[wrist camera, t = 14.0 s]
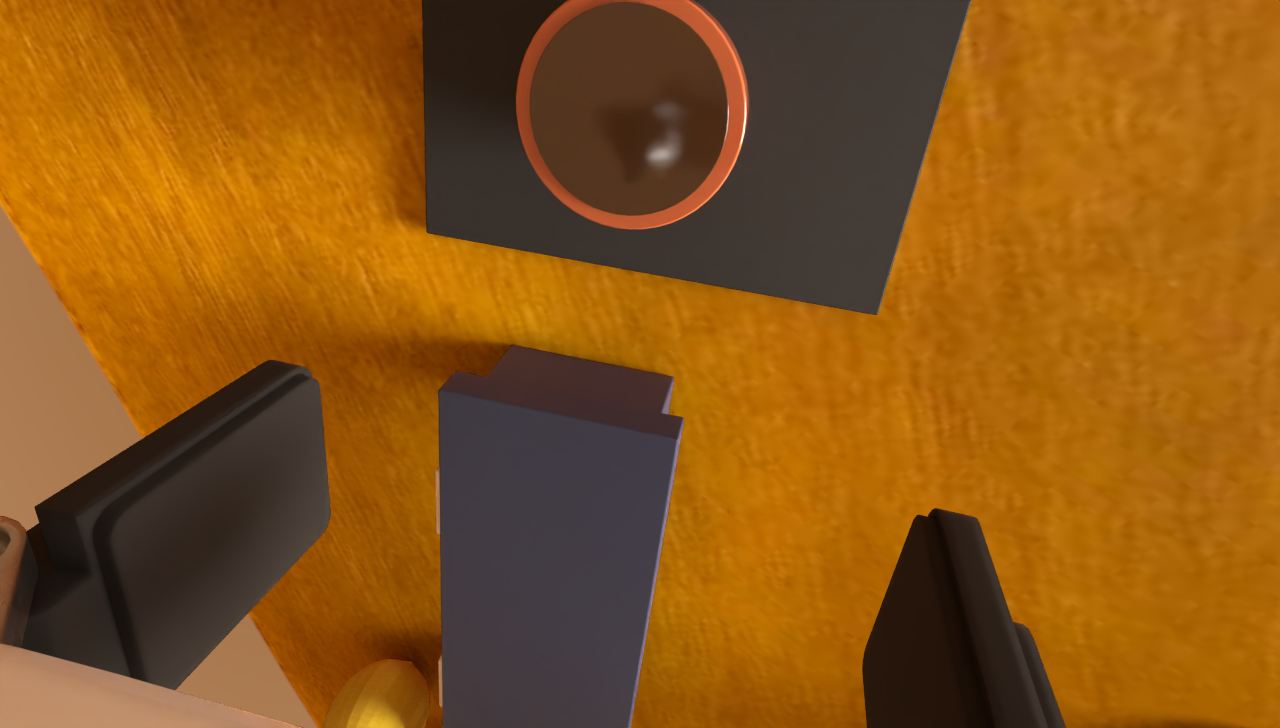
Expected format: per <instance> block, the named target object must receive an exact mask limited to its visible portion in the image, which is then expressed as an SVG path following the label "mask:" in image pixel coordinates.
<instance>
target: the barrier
mask: <svg viewBox="0 0 1280 728" xmlns="http://www.w3.org/2000/svg"><path fill="white" fill-rule="evenodd" d="M673 382H674V378H673V377H671V376H666V375H661V374H656V373H650V372H645V371H640V370H635V369H630V368H625V367H620V366H615V365H610V364H605V363H600V362H595V361H590V360H585V359H580V358H575V357H570V356H565V355H560V354H555V353H550V352H545V351H540V350H535V349H530V348H525V347H520V346H515V345H512V346H511V347H510V348H509V349H508V350H507V352H506V353H505V354H504V355H503V356H502V358H501V359H500V360H499V361H498V362H497V364H496V365H495V366H494V367H493V368H492V370H491V371H490V372H489V373H488V374H487V376H486V377H484V376H479V375H474V374H469V373H464V372H460V371H456V372H455V373H454V374H453V375H452V376H451V377H450V378H449V379H448V380H447V381H446V382H445V383H444V384H443V386H442V387H441V388H440V389H439V391H438V397H439V467H438V468H437V469H436V531H437V534H439V535H440V551H441V628H442V655H441V657H440V659H439V706H440V707H443V728H631V722H632V717H633V711H634V705H635V699H636V694H637V688H638V682H639V676H640V671H641V665H642V659H643V653H644V648H645V642H646V636H647V630H648V625H649V619H650V613H651V607H652V602H653V596H654V590H655V584H656V579H657V573H658V567H659V561H660V556H661V550H662V544H663V538H664V533H665V527H666V521H667V515H668V510H669V504H670V498H671V493H672V487H673V481H674V475H675V470H676V464H677V458H678V452H679V447H680V441H681V435H682V429H683V424H684V418H683V417H679V416H674V415H669V414H668V413H669V407H670V401H671V395H672V388H673Z"/></svg>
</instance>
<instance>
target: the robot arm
mask: <svg viewBox="0 0 1280 728" xmlns="http://www.w3.org/2000/svg"><path fill="white" fill-rule="evenodd" d="M35 510H36V513H37V517H38V520H39V524H37V525H35V526H34V527H33V528H31V529H29V530H28V531H26V529H25V528H24V527H23V526H22V525H21V524H20V523H19V522H18V521H16V520H13V519H10V518H8V517H5V516H0V728H303V727H299V726H296V725H292V724H289V723H285V722H282V721H279V720H275V719H271V718H268V717H265V716H261V715H258V714H254V713H251V712H247V711H244V710H241V709H237V708H234V707H230V706H227V705H223V704H220V703H216V702H213V701H209V700H206V699H202V698H199V697H195V696H192V695H188V694H185V693H182V692H178V691H175V690H176V689H177V688H178V687H179V686H180V684H181V683H182V682H183V681H184V680H185V679H186V678H187V677H188V676H189V675H190V674H191V673H192V672H193V671H194V669H196V668H197V667H198V665H199V664H200V663H201V662H202V661H203V660H204V659H205V658H206V657H207V656H208V655H209V654H210V653H211V652H212V651H213V650H214V649H215V647H216V646H217V645H218V644H219V643H220V642H221V641H222V640H223V639H224V638H225V637H226V636H227V635H228V634H229V633H230V631H232V629H233V628H234V627H235V626H236V625H237V624H238V623H239V622H240V621H241V620H242V619H243V618H244V617H245V616H246V615H247V614H248V613H249V611H250V610H251V609H252V608H253V607H254V606H255V605H256V604H257V603H258V602H259V601H260V600H261V599H262V598H263V597H264V596H265V594H266V593H267V592H268V591H269V590H270V589H271V588H272V587H273V586H274V585H275V584H276V583H277V582H278V581H279V580H280V579H281V578H282V576H283V575H284V574H285V573H286V572H287V571H288V570H289V569H290V568H291V567H292V566H293V565H294V564H295V563H296V562H297V561H298V560H299V558H300V557H301V556H302V555H303V554H304V553H305V552H306V551H307V550H308V549H309V548H310V547H311V546H312V545H313V544H314V543H315V542H316V540H317V539H318V538H319V537H320V536H321V535H322V534H323V533H324V531H325V529H326V528H327V526H328V523H329V520H330V515H331V509H330V497H329V486H328V474H327V462H326V451H325V439H324V428H323V416H322V404H321V393H320V386H319V383H318V381H317V380H316V379H314V378H312V374H311V372H310V371H309V369H307V368H306V367H303V366H298V365H294V364H289V363H285V362H280V361H276V360H268V361H266V362H263V363H262V364H260V365H259V366H257V367H256V368H254V369H252V370H251V371H249V372H248V373H246V374H244V375H243V376H241V377H240V378H238V379H237V380H235V381H233V382H232V383H230V384H229V385H227V386H225V387H224V388H222V389H221V390H219V391H218V392H216V393H214V394H213V395H211V396H210V397H208V398H206V399H205V400H203V401H202V402H200V403H198V404H197V405H195V406H194V407H192V408H191V409H189V410H187V411H186V412H184V413H183V414H181V415H179V416H178V417H176V418H175V419H173V420H172V421H170V422H168V423H167V424H165V425H164V426H162V427H160V428H159V429H157V430H156V431H154V432H153V433H151V434H149V435H148V436H146V437H145V438H143V439H141V440H140V441H138V442H137V443H135V444H133V445H132V446H130V447H129V448H127V449H126V450H124V451H122V452H121V453H119V454H118V455H116V456H115V457H113V458H111V459H110V460H108V461H107V462H105V463H103V464H102V465H100V466H99V467H97V468H96V469H94V470H92V471H91V472H89V473H88V474H86V475H84V476H83V477H81V478H80V479H78V480H77V481H75V482H73V483H72V484H70V485H69V486H67V487H65V488H64V489H62V490H61V491H59V492H57V493H56V494H54V495H53V496H51V497H49V498H48V499H46V500H45V501H43V502H42V503H40V504H38V505H37V506H35ZM863 684H864V697H865V709H866V721H867V728H1066V727H1065V724H1064V721H1063V718H1062V716H1061V713H1060V710H1059V707H1058V705H1057V702H1056V699H1055V696H1054V693H1053V691H1052V688H1051V685H1050V682H1049V680H1048V677H1047V674H1046V671H1045V669H1044V666H1043V663H1042V660H1041V658H1040V655H1039V652H1038V649H1037V646H1036V644H1035V641H1034V638H1033V636H1032V635H1031V633H1030V631H1029V629H1028V628H1027V627H1025V626H1024V625H1023V624H1019V623H1015V622H1013V621H1012V618H1011V616H1010V613H1009V610H1008V607H1007V604H1006V601H1005V598H1004V595H1003V592H1002V589H1001V586H1000V583H999V580H998V577H997V574H996V571H995V568H994V565H993V562H992V559H991V556H990V553H989V550H988V547H987V544H986V541H985V538H984V535H983V532H982V529H981V526H980V523H979V521H978V520H977V518H975V517H972V516H968V515H964V514H959V513H955V512H950V511H946V510H941V509H937V508H935V509H932V511H931V512H930V513H929V515H928V517H926V516H922V515H917V516H916V517H915V518H914V520H913V523H912V525H911V528H910V530H909V533H908V536H907V538H906V541H905V544H904V546H903V549H902V552H901V554H900V557H899V560H898V562H897V565H896V568H895V570H894V573H893V576H892V578H891V581H890V584H889V586H888V589H887V592H886V594H885V597H884V600H883V602H882V605H881V608H880V610H879V613H878V616H877V618H876V621H875V624H874V626H873V629H872V632H871V634H870V637H869V640H868V642H867V645H866V648H865V652H864V658H863Z"/></svg>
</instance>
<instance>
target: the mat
mask: <svg viewBox="0 0 1280 728" xmlns="http://www.w3.org/2000/svg"><path fill="white" fill-rule="evenodd" d="M566 1H567V0H422V20H423V71H424V123H425V174H426V226H427V233H430V234H435V235H441V236H446V237H452V238H457V239H463V240H468V241H474V242H479V243H485V244H490V245H495V246H501V247H506V248H512V249H517V250H523V251H528V252H534V253H539V254H545V255H550V256H556V257H561V258H567V259H572V260H578V261H583V262H589V263H594V264H599V265H605V266H610V267H616V268H621V269H627V270H632V271H638V272H643V273H649V274H654V275H660V276H665V277H671V278H676V279H682V280H687V281H693V282H698V283H703V284H709V285H714V286H720V287H725V288H731V289H736V290H742V291H747V292H753V293H758V294H764V295H769V296H775V297H780V298H786V299H791V300H797V301H802V302H807V303H813V304H818V305H824V306H829V307H835V308H840V309H846V310H851V311H857V312H862V313H868V314H873V315H877V314H878V312H879V309H880V305H881V302H882V299H883V295H884V292H885V288H886V285H887V282H888V278H889V275H890V272H891V268H892V265H893V262H894V258H895V255H896V251H897V248H898V245H899V241H900V238H901V235H902V231H903V228H904V225H905V221H906V218H907V214H908V211H909V208H910V204H911V201H912V198H913V194H914V191H915V188H916V184H917V181H918V178H919V174H920V171H921V167H922V164H923V161H924V157H925V154H926V151H927V147H928V144H929V141H930V137H931V134H932V130H933V127H934V124H935V120H936V117H937V114H938V110H939V107H940V104H941V100H942V97H943V93H944V90H945V87H946V83H947V80H948V77H949V73H950V70H951V67H952V63H953V60H954V57H955V53H956V50H957V46H958V43H959V40H960V36H961V33H962V30H963V26H964V23H965V20H966V16H967V13H968V9H969V6H970V3H971V0H694V1H695V2H697V3H698V4H699V5H701V6H702V7H703V8H705V9H706V10H707V11H708V12H709V13H710V14H711V15H712V16H713V17H714V18H715V19H716V20H717V21H718V22H719V23H720V25H721V26H722V27H723V29H724V30H725V31H726V33H727V34H728V35H729V37H730V39H731V41H732V42H733V44H734V46H735V48H736V50H737V52H738V55H739V57H740V60H741V62H742V65H743V69H744V72H745V76H746V80H747V87H748V95H749V114H748V122H747V129H746V133H745V137H744V141H743V144H742V147H741V150H740V152H739V155H738V157H737V160H736V162H735V165H734V166H733V168H732V170H731V172H730V174H729V176H728V177H727V179H726V180H725V182H724V183H723V184H722V186H721V187H720V188H719V190H718V191H717V192H716V193H715V194H714V195H713V196H712V197H711V198H710V199H709V200H708V201H707V202H706V203H705V204H703V205H702V206H701V207H700V208H699V209H697V210H696V211H694V212H693V213H691V214H689V215H688V216H686V217H684V218H682V219H680V220H678V221H675V222H673V223H670V224H667V225H664V226H660V227H656V228H649V229H633V230H630V229H620V228H614V227H610V226H606V225H602V224H599V223H597V222H594V221H591V220H589V219H587V218H585V217H583V216H581V215H579V214H578V213H576V212H574V211H573V210H572V209H570V208H569V207H567V206H566V205H564V204H563V203H562V202H561V201H560V200H559V199H558V198H557V197H556V196H554V195H553V193H552V192H551V191H550V190H549V189H548V188H547V187H546V186H545V184H544V183H543V182H542V180H541V179H540V177H539V176H538V174H537V173H536V172H535V170H534V168H533V166H532V164H531V162H530V160H529V158H528V156H527V154H526V151H525V148H524V146H523V143H522V140H521V136H520V132H519V128H518V121H517V114H516V92H517V81H518V77H519V72H520V68H521V64H522V61H523V59H524V56H525V53H526V50H527V48H528V46H529V44H530V43H531V41H532V39H533V37H534V35H535V34H536V32H537V31H538V29H539V28H540V26H541V25H542V24H543V22H544V21H545V20H546V19H547V18H548V17H549V16H550V15H551V14H552V13H553V12H554V11H555V10H556V9H557V8H558V7H560V6H561V5H562V4H563V3H564V2H566Z"/></svg>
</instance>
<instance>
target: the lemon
mask: <svg viewBox="0 0 1280 728" xmlns="http://www.w3.org/2000/svg"><path fill="white" fill-rule="evenodd" d="M429 705H430V694H429V690H428V686H427V683H426V681H425V679H424V677H423V675H422V674H421V673H420V672H419V671H418V670H417V669H416V668H415V667H414V664H413V663H412V662H410V661H402V660H396V659H384V660H380V661H376V662H373V663H371V664H369V665H367V666H365V667H364V668H362V669H361V670H359V671H358V672H356V673H355V674H354V675H353V676H352V677H351V678H350V679H349V680H348V681H347V683H346V684H345V685H344V686H343V688H342V689H341V690H340V692H339V693H338V695H337V696H336V698H335V700H334V701H333V703H332V705H331V707H330V710H329V712H328V715H327V717H326V720H325V724H324V728H424V727H425V724H426V721H427V718H428V713H429Z"/></svg>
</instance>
